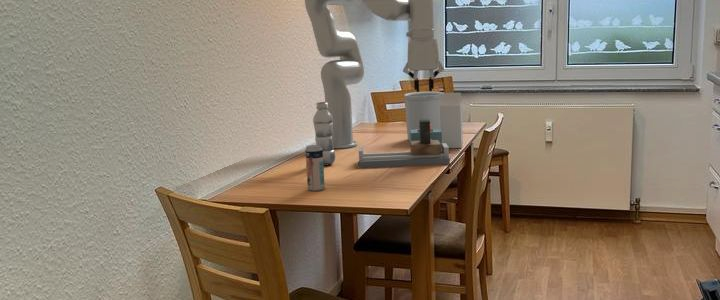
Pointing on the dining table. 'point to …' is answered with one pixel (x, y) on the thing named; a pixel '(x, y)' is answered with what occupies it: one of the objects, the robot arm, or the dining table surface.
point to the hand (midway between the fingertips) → (424, 91)
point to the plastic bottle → (324, 132)
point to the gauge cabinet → (434, 135)
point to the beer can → (315, 167)
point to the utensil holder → (422, 109)
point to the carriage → (425, 141)
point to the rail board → (402, 158)
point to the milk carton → (451, 119)
